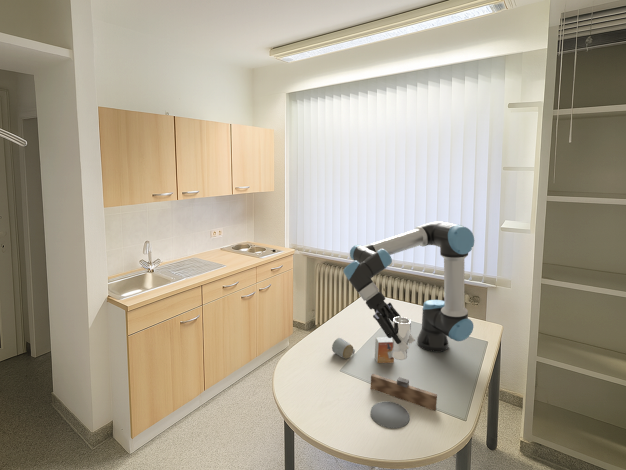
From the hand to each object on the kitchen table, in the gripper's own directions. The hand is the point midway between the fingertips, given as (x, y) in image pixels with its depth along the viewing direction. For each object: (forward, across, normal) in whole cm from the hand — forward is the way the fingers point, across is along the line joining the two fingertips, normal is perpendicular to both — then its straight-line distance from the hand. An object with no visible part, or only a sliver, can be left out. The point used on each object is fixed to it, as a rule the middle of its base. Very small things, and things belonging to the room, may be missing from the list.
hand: (409, 345), depth 143 cm
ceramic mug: (-9, -17, -42) cm, 46 cm away
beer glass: (+1, 0, -6) cm, 7 cm away
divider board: (+15, 0, -17) cm, 23 cm away
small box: (+4, -23, -29) cm, 37 cm away
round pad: (+15, +12, -17) cm, 26 cm away
